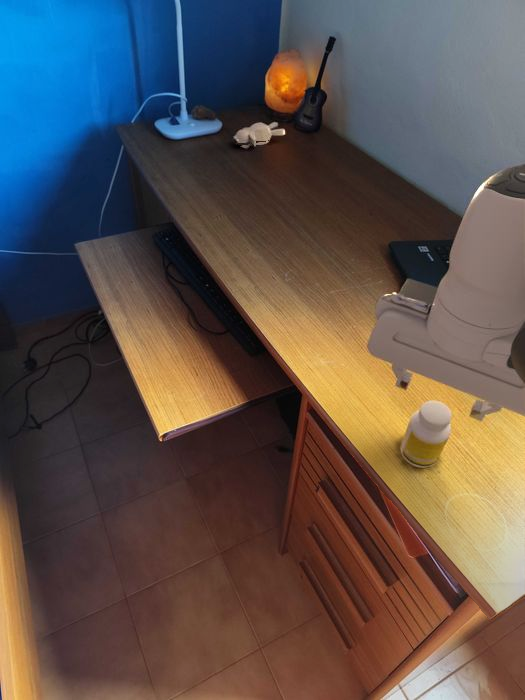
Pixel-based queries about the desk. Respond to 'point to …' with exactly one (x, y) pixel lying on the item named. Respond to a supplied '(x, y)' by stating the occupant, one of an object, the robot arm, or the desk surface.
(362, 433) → the desk surface
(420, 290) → the scale
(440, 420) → the supplement bottle
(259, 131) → the bunny figurine
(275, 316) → the desk surface
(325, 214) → the desk surface
